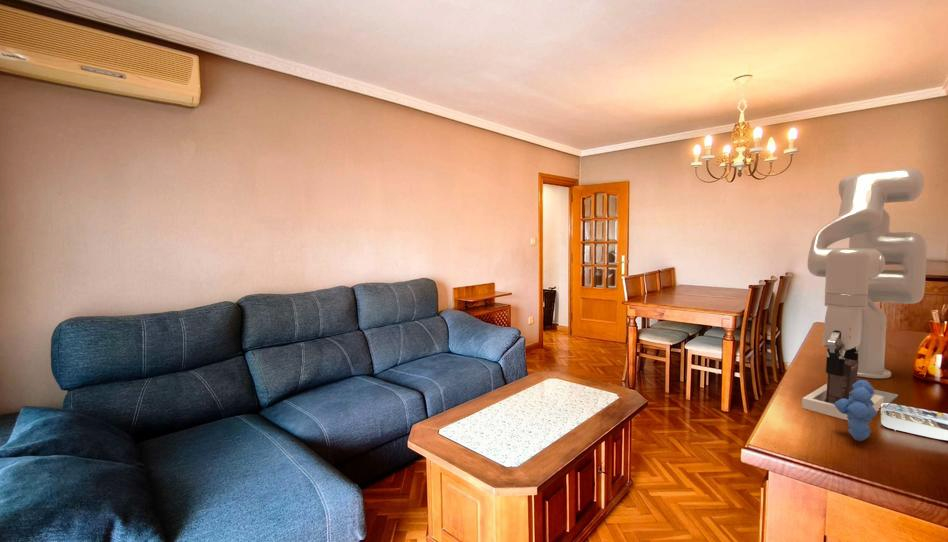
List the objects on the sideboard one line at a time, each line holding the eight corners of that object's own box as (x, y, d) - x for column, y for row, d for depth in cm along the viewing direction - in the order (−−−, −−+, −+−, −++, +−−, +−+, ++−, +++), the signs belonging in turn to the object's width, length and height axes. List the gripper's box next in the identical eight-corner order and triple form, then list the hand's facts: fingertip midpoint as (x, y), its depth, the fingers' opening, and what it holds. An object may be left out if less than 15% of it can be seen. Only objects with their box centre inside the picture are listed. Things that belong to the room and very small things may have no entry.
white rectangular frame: (826, 392, 108) (826, 383, 108) (883, 406, 99) (883, 396, 99) (801, 408, 99) (802, 398, 99) (862, 424, 90) (862, 413, 90)
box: (849, 414, 95) (851, 364, 94) (824, 408, 99) (826, 360, 98) (857, 408, 98) (859, 360, 98) (833, 402, 102) (835, 355, 101)
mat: (838, 383, 115) (838, 381, 115) (898, 396, 105) (898, 394, 105) (824, 391, 109) (824, 390, 109) (886, 406, 99) (886, 404, 99)
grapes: (836, 421, 92) (838, 370, 91) (878, 431, 87) (881, 377, 86) (828, 439, 84) (830, 383, 83) (873, 451, 79) (876, 391, 78)
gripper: (837, 296, 104) (834, 361, 105) (812, 302, 95) (809, 373, 96) (877, 299, 98) (873, 369, 99) (854, 305, 89) (851, 382, 90)
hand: (842, 371), depth 98 cm, fingers open, 9 cm apart
